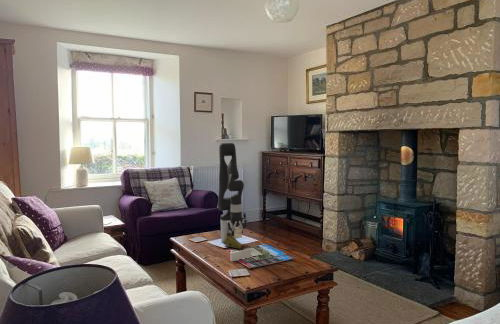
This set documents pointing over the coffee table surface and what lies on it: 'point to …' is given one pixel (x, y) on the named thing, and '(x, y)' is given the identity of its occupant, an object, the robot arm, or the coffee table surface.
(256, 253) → the mat
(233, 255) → the cream rectangular block
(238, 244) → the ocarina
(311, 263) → the coffee table surface
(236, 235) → the marked cube
